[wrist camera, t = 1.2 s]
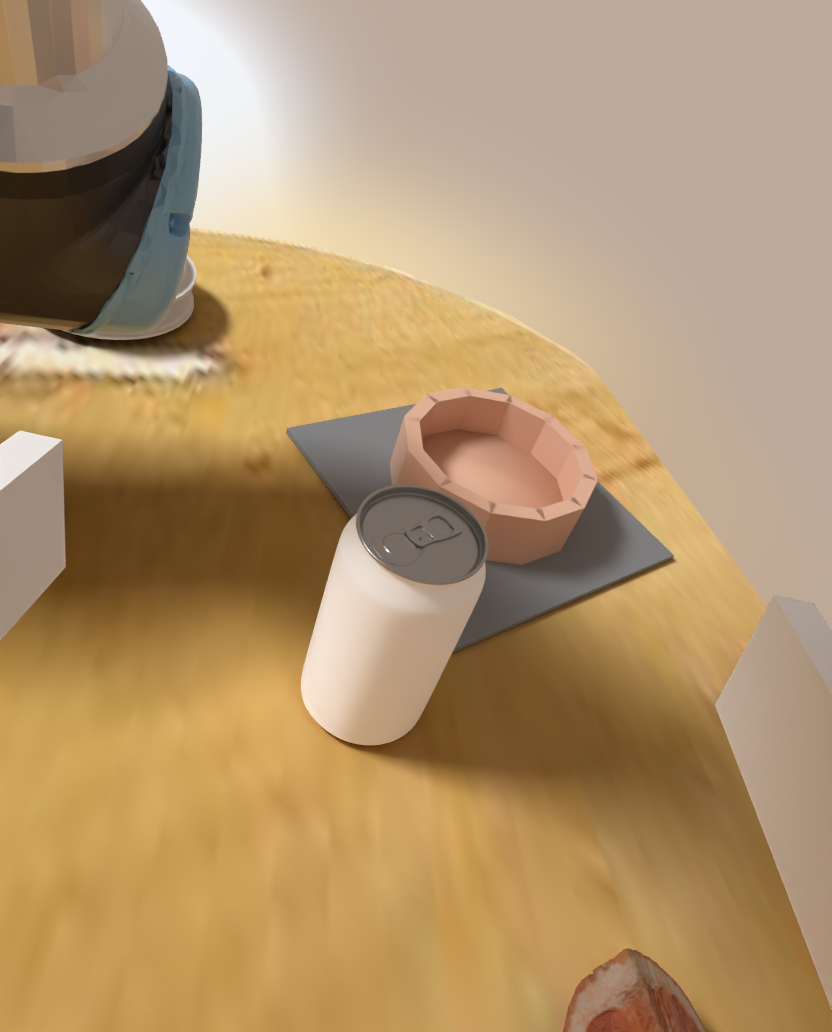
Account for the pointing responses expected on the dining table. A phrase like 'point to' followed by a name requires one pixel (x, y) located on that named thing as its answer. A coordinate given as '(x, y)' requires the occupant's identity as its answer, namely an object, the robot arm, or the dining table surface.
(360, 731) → the can
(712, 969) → the dining table surface
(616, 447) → the dining table surface
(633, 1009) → the fruit slice
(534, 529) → the bowl
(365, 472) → the mat
